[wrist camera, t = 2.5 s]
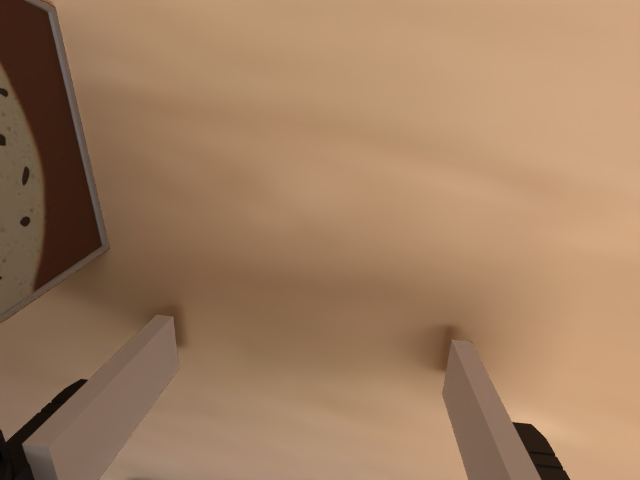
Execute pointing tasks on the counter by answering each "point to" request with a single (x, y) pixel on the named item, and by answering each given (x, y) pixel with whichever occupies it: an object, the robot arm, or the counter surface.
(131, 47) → the counter surface
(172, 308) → the counter surface
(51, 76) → the food container
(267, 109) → the counter surface
